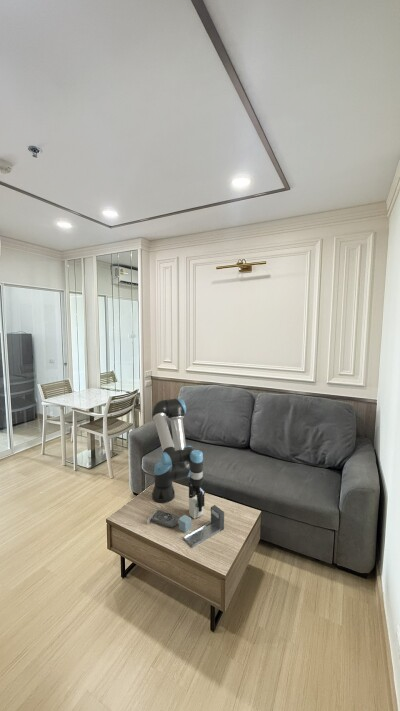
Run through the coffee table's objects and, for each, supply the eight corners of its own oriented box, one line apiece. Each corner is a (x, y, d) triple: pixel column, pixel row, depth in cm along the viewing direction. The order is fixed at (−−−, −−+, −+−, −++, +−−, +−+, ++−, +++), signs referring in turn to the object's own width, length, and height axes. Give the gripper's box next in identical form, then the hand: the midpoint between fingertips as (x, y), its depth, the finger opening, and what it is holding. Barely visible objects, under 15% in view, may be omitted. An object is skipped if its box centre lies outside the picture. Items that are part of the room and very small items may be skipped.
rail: (183, 538, 155) (183, 520, 153) (214, 521, 168) (214, 504, 167) (192, 547, 148) (192, 528, 147) (223, 529, 162) (224, 512, 161)
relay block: (178, 529, 162) (178, 519, 161) (184, 524, 166) (184, 514, 165) (185, 533, 159) (185, 522, 158) (191, 527, 163) (191, 518, 162)
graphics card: (145, 519, 166) (157, 506, 176) (145, 525, 166) (157, 512, 177) (170, 528, 159) (181, 514, 169) (170, 534, 159) (181, 520, 170)
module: (189, 514, 174) (189, 498, 173) (198, 509, 178) (198, 494, 177) (194, 518, 170) (194, 503, 169) (203, 514, 174) (203, 498, 173)
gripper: (182, 472, 176) (182, 507, 179) (200, 485, 162) (200, 524, 164) (192, 468, 180) (192, 503, 183) (211, 481, 166) (210, 518, 169)
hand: (196, 513), depth 174 cm, fingers closed on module, 5 cm apart
